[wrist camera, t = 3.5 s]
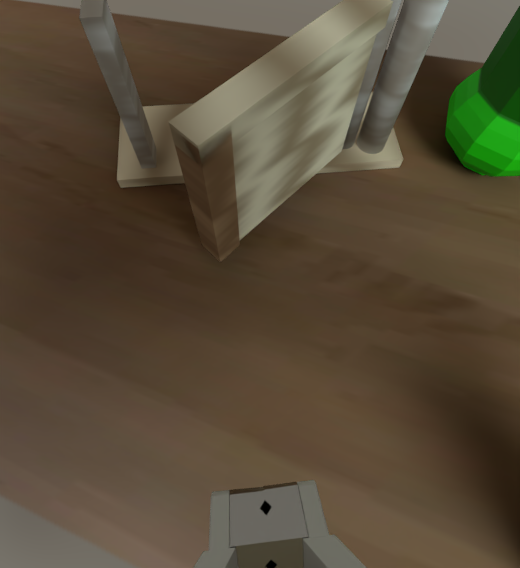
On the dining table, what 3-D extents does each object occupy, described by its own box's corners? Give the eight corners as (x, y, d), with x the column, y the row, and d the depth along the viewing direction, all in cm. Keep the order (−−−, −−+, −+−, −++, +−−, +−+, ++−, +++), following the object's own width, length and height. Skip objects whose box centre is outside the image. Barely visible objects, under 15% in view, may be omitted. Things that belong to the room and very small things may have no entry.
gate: (340, 127, 32) (383, -28, 22) (359, 139, 32) (412, -13, 21) (201, 245, 28) (168, 121, 17) (220, 262, 27) (198, 146, 16)
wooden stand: (378, 100, 36) (449, -92, 23) (399, 167, 33) (493, -11, 20) (124, 116, 35) (46, -77, 22) (120, 187, 31) (27, 11, 19)
